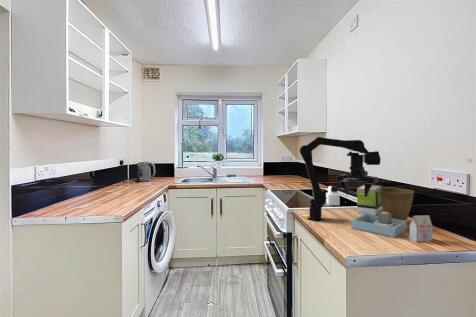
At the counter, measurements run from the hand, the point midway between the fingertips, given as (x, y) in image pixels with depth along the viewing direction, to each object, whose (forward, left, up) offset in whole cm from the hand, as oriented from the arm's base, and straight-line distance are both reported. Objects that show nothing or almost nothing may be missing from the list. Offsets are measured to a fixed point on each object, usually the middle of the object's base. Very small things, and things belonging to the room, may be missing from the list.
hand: (356, 195), depth 135 cm
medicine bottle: (+28, +28, -13) cm, 42 cm away
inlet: (-6, -15, -13) cm, 21 cm away
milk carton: (-9, -30, -13) cm, 34 cm away
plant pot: (+11, -14, -13) cm, 23 cm away
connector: (-6, -15, -12) cm, 20 cm away
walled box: (-6, -13, -13) cm, 19 cm away
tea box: (+24, +3, -13) cm, 28 cm away
